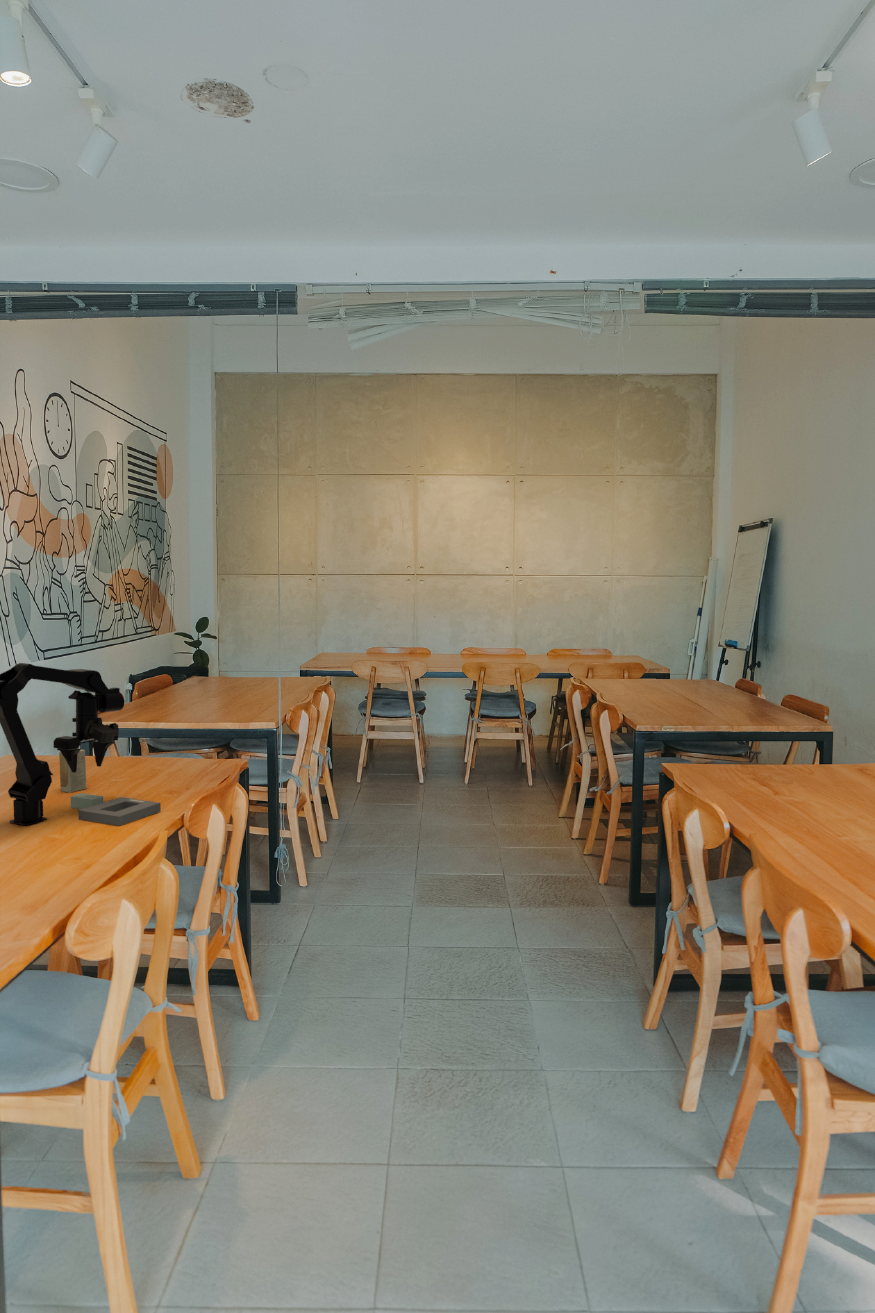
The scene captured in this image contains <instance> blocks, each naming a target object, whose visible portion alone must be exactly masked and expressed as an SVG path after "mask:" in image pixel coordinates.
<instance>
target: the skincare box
mask: <svg viewBox="0 0 875 1313" xmlns="http://www.w3.org/2000/svg"><path fill="white" fill-rule="evenodd" d="M58 754H59V756H58V757H59V759H58V760H59V780H60V784H59V785H60V792H65V793H68V794H69V793H74V792H77V791H81V790H85V789H87V767H86V766H87V765H86V750H85V749H81V750H80V751H79V753H78V755H77V770H76V772H75V773H74V772H72V771H71V769H70V767H69V765H68V763H67V761H66V759H65V758H64V756H63V755H62V753H61V752H60V751H59V752H58Z"/></svg>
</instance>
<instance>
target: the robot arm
mask: <svg viewBox="0 0 875 1313" xmlns="http://www.w3.org/2000/svg"><path fill="white" fill-rule="evenodd" d="M31 680H38V681H43V682H53V683H61V684H63V685H65V686H68V687H70V688H73V689H75V690H74V691H73V692H71V694H70V695H68V698H67V699H69V700H75V717H72V718H71V719H72V721H71V722H73V723H75V731H74V732H72V736H70V735H69V736H68V735H63V736H58V737H55V738H54V739H53V749H56V751H59V752H61V753H62V755H63V756H64V758H65V759H66V761H67V763H68V765H69V767H70V769H71V771H72V772H74V773H75V772H76V770H77V755H78V753H79V751H80V750H82V748H80V746H81V745H82V744H85V743H90V742H92V747H93V748H92V749H93V756H94V760H95V764H96V767H98V768H99V767H102V765H103V761H104V759H105V756H106V753H107V751H108V749H109V747H111V746H112V745H113V744H115V741H119V732H120V731H119V730H120V729H119V724H117V723H116V722H113V723H109V724H104V723H103V718H102V717H101V716H100V717H99V713H101V714H102V713H111V712H119V711H122V710H123V709H124V707H125V699H124V696H123V694H122V693H121V691H120V689H121V688H119V687H110V688H108V687H107V684H105V681H104V680H103V678H102V675H101V673H100V672H99V671H97V670H91V669H83V668H76V669H75V668H74V669H60V668H53V667H46V666H41V665H34V664H32V663H26V662H25V663H24V662H19V663H17V664H15V665H14V666H13V667H11V668H10V669H8V670H6V671H3V672H2V673H0V726H1V728H2V731H3V734H4V735H5V738H6V741H7V744H8V746H9V748H10V750H11V753H12V755H13V758H14V760H15V763H16V767H15V771H14V772H15V778H16V780H15V782H13V784H12V785H11V787H10V788H9V789H8V791H7V792H8V795H9V798H11V799H13V804H12V805H13V819H10V820H9V823H10V824H17V825H23V826H29V825H33V824H37V823H40V822H42V821H46V820H47V817H45V816H44V801H43V800H46V798H47V794H48V792H49V788H50V787H51V784H52V783H53V778H52V776H54V774H53V772H52V771H51V769H50V765H49V762H48V761H45V760H40V759H38V758H37V755H36V754H35V752H34V749H33V747H32V744H31V741H30V739H29V737H28V734H27V732H26V729H25V727H24V724H23V721H22V719H21V717H20V714H19V711H18V707H19V695H18V694H19V693H20V692H22V690H24V688H26V685H27V684H28V682H30V681H31ZM81 691H85V692H81ZM92 693H93V694H92Z"/></svg>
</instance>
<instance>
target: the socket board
mask: <svg viewBox="0 0 875 1313" xmlns="http://www.w3.org/2000/svg"><path fill="white" fill-rule="evenodd" d="M161 805H162V804H161V802H157V801H152V800H144V799H138V798H137V799H136V798H131V797H124V796H123V797H122V796H120V797H117V798H114V799H110V800H108V801H105V802H104V801H103V803H100V804H97V805H94V806H91V807H87V808H84V809H78V811H77V812H78V820H81V821H85V822H91V823H92V822H93V823H99V824H105V825H109V826H118V827H120V826H124V825H126V824H129V823H132V822H136V821H138V820H141V819H143V818H146V817H147V818H148V817H149V816H152V815H155V814H157V813H161V810H162V809H161V807H162V806H161Z"/></svg>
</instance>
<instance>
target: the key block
mask: <svg viewBox="0 0 875 1313" xmlns="http://www.w3.org/2000/svg"><path fill="white" fill-rule="evenodd" d="M100 803H104V796H103V795H97V794H91V793H90V794H89V793H83V792H81V793H78V794H74V795H71V796H70V808H71V809H78V810H81V809H84V808H87V807H91V806H94V805H97V804H100Z"/></svg>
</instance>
